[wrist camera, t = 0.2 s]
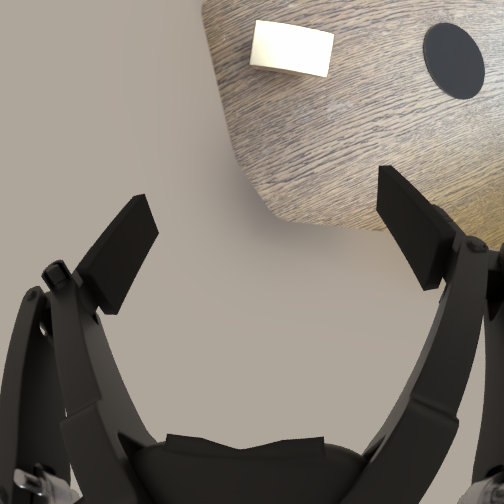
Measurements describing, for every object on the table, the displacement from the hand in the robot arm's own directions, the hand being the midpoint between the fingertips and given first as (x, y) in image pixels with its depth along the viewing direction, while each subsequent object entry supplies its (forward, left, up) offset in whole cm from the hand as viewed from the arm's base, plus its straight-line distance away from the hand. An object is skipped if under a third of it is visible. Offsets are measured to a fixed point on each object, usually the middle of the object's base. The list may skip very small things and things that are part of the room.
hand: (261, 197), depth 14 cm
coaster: (-28, +13, -22) cm, 38 cm away
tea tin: (-8, -4, -22) cm, 23 cm away
